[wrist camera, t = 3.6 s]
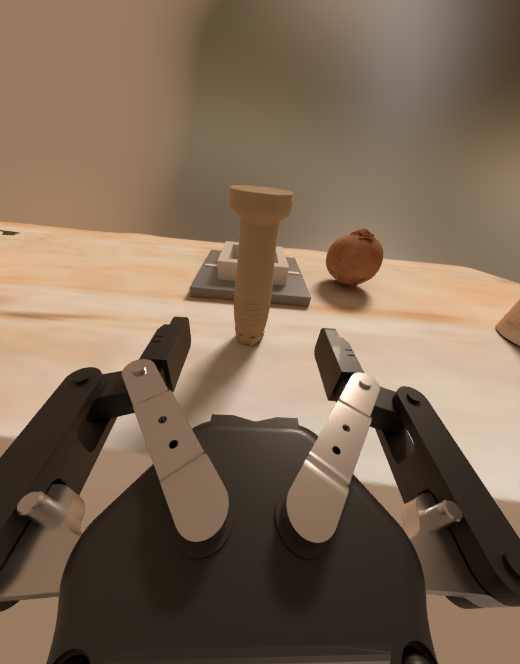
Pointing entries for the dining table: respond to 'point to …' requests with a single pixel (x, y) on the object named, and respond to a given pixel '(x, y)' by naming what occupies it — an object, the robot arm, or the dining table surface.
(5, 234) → the eiffel tower figurine
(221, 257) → the square socket base
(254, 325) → the handle
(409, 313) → the dining table surface
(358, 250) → the onion
